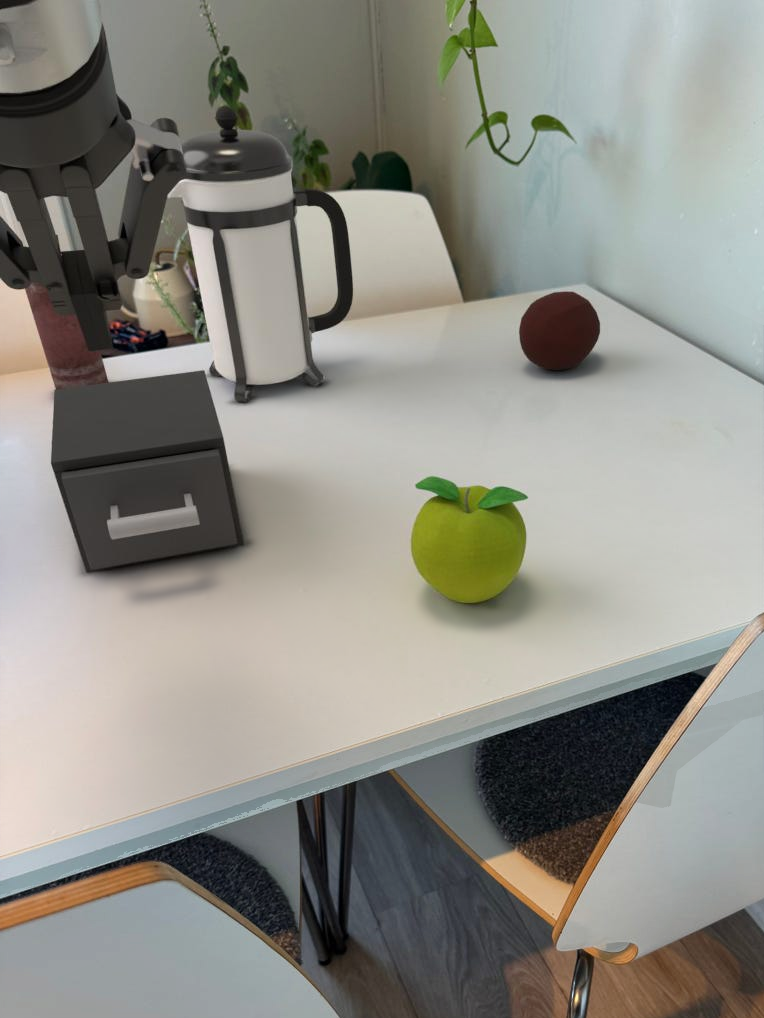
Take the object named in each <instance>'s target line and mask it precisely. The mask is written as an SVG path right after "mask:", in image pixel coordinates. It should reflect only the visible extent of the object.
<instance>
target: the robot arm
mask: <svg viewBox="0 0 764 1018" xmlns="http://www.w3.org/2000/svg"><path fill="white" fill-rule="evenodd" d="M103 23H104V22H103V20H102V7H101V1H100V0H0V192H1V193H4V194H6V195H7V198H8V200H9V203H10V205H11V209H12V211H13V213H14V216H15V218H16V221H17V222H19V224H20V227H21V230H22V233H23V235H24V238H25V240H26V243H27V246H25V245H24V243H23V241H22V240H21V238H20V236H18V235H17V233H16V232H15V231H14V230H13V229H12V228H11V227H10V225H9V224H8V223H7V222H6V220H5V219H4V218H3V217H2V216H1V215H0V280H1V281H2V282H3V283H4V284H5V285H6V286H7V287H8V288H9V289H13V290H17V291H18V290H19V291H20V290H25V288H28V287H29V286H30V283H37V284H40V285H42V286H44V288H45V289H46V290H47V292H48V295H49V297H50V300H51V302H52V305H53V308H54V310H55V312H56V313H57V314H59V315H60V316H62V315H73V314H76V316H77V319H78V322H79V324H80V327H81V330H82V333H83V336H84V339H85V342H86V345H87V348H88V351H98V350H100V351H106V350H107V351H108V350H114V345H113V344H114V343H113V340H112V335H111V329H110V324H109V320H108V319H109V318H108V315H107V312H108V311H119V310H120V311H121V309H122V307H123V300H122V295H121V290H120V285H119V279H120V278H121V277H123V276H127V277H128V278H130V279H132V280H141V279H144V278H146V277H147V276H148V275H149V272H150V269H151V265H152V261H153V256H154V252H155V248H156V246H157V245H156V244H157V240H158V236H159V233H160V229H161V223H162V220H163V216H164V213H165V208H166V204H167V200H168V197H167V196H168V194H169V193H170V192H171V191H172V189H173V188H174V187H175V186H176V185H177V184H178V183H179V181H180V180H181V179H182V178H183V177H184V176H185V174H186V172H187V171H186V165H185V161H184V156H183V151H182V146H181V144H182V142H181V138H180V133H179V128H178V125H177V123H176V121H175V120H173V119H171V118H168V117H159V118H157V119H155V120H154V121H153V122H151V124H150V125H148V124H147V123H143V122H140V121H138V120H136V119H133V117H132V112H131V110H130V108H129V106H128V105H127V103H126V102H125V101H124V100H123V99H122V98H121V97H120V96H119V94H118V93H117V90H116V84H115V79H114V72H113V67H112V61H111V56H110V51H109V46H108V40H107V35H106V30H105V27H104V24H103ZM129 154H130V159H131V161H130V165H129V166H130V167H129V173H128V177H127V183H126V189H125V193H124V198H123V204H122V208H121V209H122V210H121V215H120V220H119V226H118V230H117V231H118V232H117V236H118V238H116V239H112V240H109V239H108V234H107V230H106V227H105V223H104V219H103V214H102V210H101V206H100V202H99V199H98V193H97V189H98V188H100V186H102V185H103V184H104V182H105V181H107V179H108V178H109V177H110V175H111V174H112V173H113V172H114V171H115V170H116V169H117V168H118V167H119V165H120V164H121V163H122V162H123V160H124V159H125V158H126V157H127V156H128V155H129ZM50 197H62V198H67V200H68V203H69V207H70V210H71V213H72V217H73V218H74V220H75V224H76V226H77V227H76V228H77V230H78V234H79V237H80V241H81V244H82V247H83V249H77V250H75V249H74V250H61V246H60V240H59V235H58V234H56V230H55V227H54V224H53V222H52V218H51V215H50V212H49V209H48V205H47V202H46V198H50Z"/></svg>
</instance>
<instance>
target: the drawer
mask: <svg viewBox="0 0 764 1018" xmlns="http://www.w3.org/2000/svg"><path fill="white" fill-rule="evenodd" d="M74 470H75V471H70V472H63V473H62V481H63V484H64V488H65V491H66V494H67V497H68V500H69V503H70V506H71V509H72V512H73V516H74V519H75V522H76V525H77V528H78V531H79V534H80V537H81V540H82V544H83V547H84V550H85V553H86V556H87V559H88V562H89V565H90V568H91V570H95V569H100V568H106V567H111V566H117V565H123V564H128V563H134V562H140V561H145V560H151V559H156V558H162V557H168V556H173V555H179V554H184V553H190V552H196V551H201V550H207V549H212V548H218V547H224V546H229V545H235V544H237V538H236V533H235V528H234V523H233V518H232V513H231V508H230V503H229V498H228V493H227V488H226V483H225V478H224V473H223V468H222V463H221V458H220V454H219V450H218V449H215V450H208V449H205V450H198V451H192V452H185V453H178V454H172V455H165V456H159V457H152V458H145V459H139V460H132V461H126V462H119V463H112V464H106V465H99V466H92V467H86V468H79V469H74Z"/></svg>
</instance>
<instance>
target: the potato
mask: <svg viewBox="0 0 764 1018" xmlns="http://www.w3.org/2000/svg"><path fill="white" fill-rule="evenodd" d="M518 334H519V335H518V337H519V344H520V348H521V350H522V352H523V354H524V356H525V357H526V358H527V359H528V361H529V362H531V363H532V364H534V365H536V366H538V367H539V368H542V369H545V370H550V371H562V370H568V369H570V368H574V367H575V366H577V365H579V364H580V363H581V362H582V361H584V359H586V358H587V357H588V356H589V355H590V353H592V351H593V349H594V348H595V346H596V345H597V343H598V341H599V337H600V334H601V322H600V318H599V316H598V312H597V310H596V309H595V308H594V306H593V305H592V303H591V302H590V301H589V299H587V298H585V297H584V296H582V295H580V294H579V293H577V292H575V291H566V290H565V291H553V292H552V293H548V294H546V295H544V296H542V297H540V298H537V299H536V300H534V301H532V302H531V303H530V304H529V306H528V307H527V309H526V310H525V312H524V313H523V315H522V317H521V318H520V324H519V328H518Z"/></svg>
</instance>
